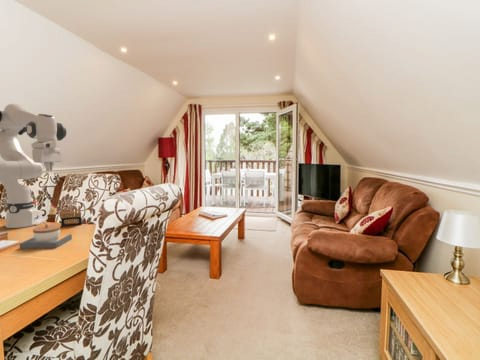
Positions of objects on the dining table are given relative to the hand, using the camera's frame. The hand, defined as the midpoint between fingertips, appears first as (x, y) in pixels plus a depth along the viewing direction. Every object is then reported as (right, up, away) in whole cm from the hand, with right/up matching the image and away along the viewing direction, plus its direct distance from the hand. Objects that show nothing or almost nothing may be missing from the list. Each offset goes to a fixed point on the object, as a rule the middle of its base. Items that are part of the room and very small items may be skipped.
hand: (49, 170), depth 149 cm
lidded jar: (+10, -36, -15) cm, 40 cm away
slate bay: (+10, -36, -15) cm, 40 cm away
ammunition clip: (0, -33, +19) cm, 38 cm away
